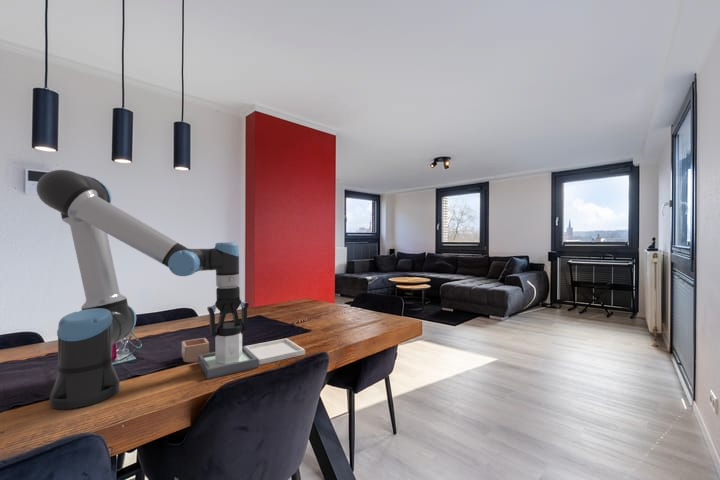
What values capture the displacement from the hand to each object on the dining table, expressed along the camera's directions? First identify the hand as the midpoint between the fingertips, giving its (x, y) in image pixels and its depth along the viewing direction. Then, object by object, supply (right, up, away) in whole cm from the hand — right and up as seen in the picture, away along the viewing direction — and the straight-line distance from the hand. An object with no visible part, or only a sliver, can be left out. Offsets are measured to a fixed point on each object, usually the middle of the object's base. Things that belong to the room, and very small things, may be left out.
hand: (229, 353), depth 115 cm
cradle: (0, -4, 0) cm, 4 cm away
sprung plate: (0, -3, 0) cm, 3 cm away
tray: (+12, -4, +13) cm, 18 cm away
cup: (-15, -4, +6) cm, 17 cm away
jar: (0, -2, 0) cm, 2 cm away
